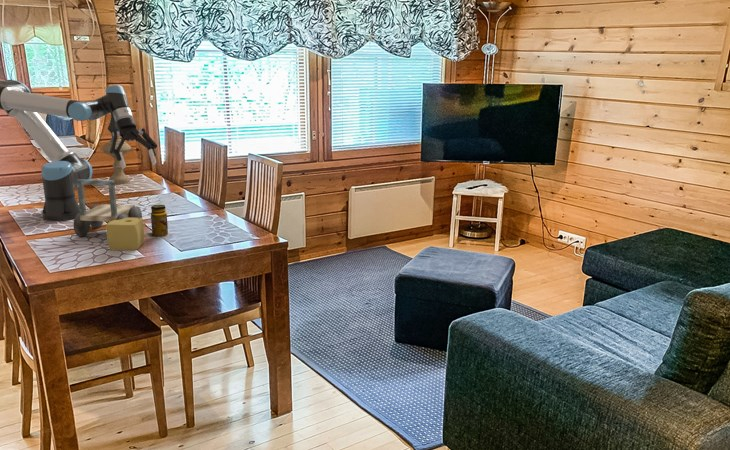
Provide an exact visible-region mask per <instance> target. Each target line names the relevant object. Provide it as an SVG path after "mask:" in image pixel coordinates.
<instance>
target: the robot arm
mask: <svg viewBox="0 0 730 450" xmlns="http://www.w3.org/2000/svg"><path fill="white" fill-rule="evenodd" d="M0 110H4V112H5V113H6V114H7V115H8V116H9V117H11V118H13V117H14V118H15V119H16V120H17V121H18V123H19V124H20V125H21V126H22V127H23V129H24V130H25V131H26V133H28V134H29V136H30V137H31V138H32V139H33V141H34V142H35V143H36V144H37V145H38V147H39V148H40V149H41V150H42V151H43V154H45V155H46V157H47V158H48V159H49V160H50V161H49V162H47V163H45V164H43V166H41V174H40V175H41V179H42V187H43V188H42V189H43V194H44V203H43V207H42V208H43V209H42V212H41V215H42V219H43V220H46V221H53V222H56V221H68V220H69V221H70V220H74V219H75V216H76V215H77V214H78V213H80V208H79V202H78V200H77V198H76V194H75V193H76V192H75V188H77V181H76V180H78V179H85V180H92V176H93V166H92V165H91V163H90V162H89V161H88V160H86V159H83V158H80V157H79V156H78V154H77V153H76V152H75V151H70V150H69V148H68V147H66V145H65V144H64V143H63V142H62V140H61V139H60V138H59V137H58V135H57V134H56V133H55V131H53V129H52V128H51V127H50V126H49V125H48V123H47V122H46V120H45V119H44V118H43V117H42V116H41V114H45V115H51V116H56V117H62V118H70V119H73V120H74V121H77V122H86V121H87V120H89V121H95V120H98V119H101V118H102V117H104V116H106V115H108V114H111V112H113V115H114V119H115V121H116V125H117V128H118V130H119V131H116V130H114V131H113V132H112V136H111V139H112V143H111V148H110V153H114V155H116V157H117V160H118V161H120V163H121V166H122V169H123V170H124V169H126V167H127V165H126V162H125V158H124V155H122V152H119V151H120V149H121V147H122V145H123V143H124V142H130V141H131V142H133V141H134V142H138V143H139V144H141V145H142V146H144V147H145V148H146V149H147V150H148V151H147V152H148V154H149V155H148V156H149V158H150V161H151V164H152V166H154V165H156V164H157V159H156V156H157V154H156V151H155V150H156V149H157V147H158V143H156V142H155V141H154V140H153V139H152V137H151V136H150V135H149V134H148V133H147V131H146V130H145V128H144V127H142V128H140V129H138V128H137V124H136V121H135V119H134V116H133V113H132V109H131V106H130V104H129V100H128V98H127V94H126V92H125V89H124V87H123V86H121V85H119V84H113V85H112V84H111V85H109V86H108V87H107V88H105V95H103V96H100V97H98V98H96V99H92V100H81V101H80V100H75V99H69V98H62V97H57V96H51V95H45V94H39V93H38V94H37V93H31V90H30V88H29V87H28V86H27V85H26V84H25V83H24V82H22V81H20V80H14V79H6V80H5V79H4V80H0ZM118 135H120V136H119V137H122V138H120V139H121V141H120V143H119V145H118V147H117V149H115V146H116V141H117V136H118ZM112 137H113V138H112ZM83 186H84V184H83Z"/></svg>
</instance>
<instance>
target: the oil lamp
mask: <svg viewBox="0 0 730 450" xmlns="http://www.w3.org/2000/svg"><path fill="white" fill-rule="evenodd" d="M114 130H116V131H119V130H118V128H117V125H116V121H115V119H114V115H113V112H111V113H110V120H109V124H108V127H107V131H109V132H110V136H111V138H110V140H108V141H106V142H105V144H103V145H102V146H101V150H102V152H104V154H107V155H109V156H111V157H112V158H113V159H114V162H113V164H112V168H113V174H112V175H111V176H110V177H109V178H108V180H114V185H126V184H130V183H131V179H130V177H129V175H127V174H125V172H124V169H122V166H121V163H120V161H118V160H117V157H116V155H114V153H110V148H111V143H112V138H113V137H112V132H113V131H114ZM121 139H122V137H121V136H120V135H118V136H117V141H116V146H115V149H117V147H118V145H119V143H120V141H121ZM131 149H132V147H131V145H130V144H129V143H127V141H125V142H124V143H123V145H122V147H121V149H120V151H119V152H122V155H123V156H124V155H126V154H128V153H129V152H130V151H131Z"/></svg>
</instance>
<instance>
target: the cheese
mask: <svg viewBox="0 0 730 450" xmlns="http://www.w3.org/2000/svg"><path fill="white" fill-rule="evenodd" d="M105 226H106V228H105V229H106V232H105V233H106V239H107V240H106V241H107V244H108V248H109V251H136V250H138V249H139V248H140V247H141V245H143V244H144V243H145V233H144V232H145V231H144V221H143V217H142V218H123V219H120V220H113V221H111V222H110V221H108V222H107V224H106V225H105Z"/></svg>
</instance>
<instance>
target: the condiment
mask: <svg viewBox="0 0 730 450" xmlns="http://www.w3.org/2000/svg"><path fill="white" fill-rule="evenodd" d="M150 223H151V232H145V233H144V236H146V237H147V238H148V239H150V240H151V239H155V238H165V237H171V236H172V234H170V233H169V225H168V212H167V210H166V206H165V204H153V205H151V212H150Z"/></svg>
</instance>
